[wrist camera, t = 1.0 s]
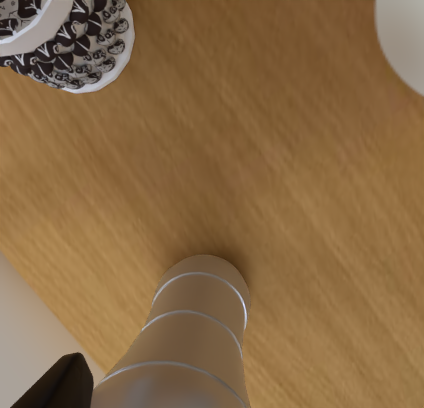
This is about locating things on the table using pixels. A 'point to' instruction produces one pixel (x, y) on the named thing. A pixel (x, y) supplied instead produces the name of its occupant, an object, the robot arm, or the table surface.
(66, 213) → the table surface
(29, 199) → the table surface
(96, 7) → the white patterned cylinder
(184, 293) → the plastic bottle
